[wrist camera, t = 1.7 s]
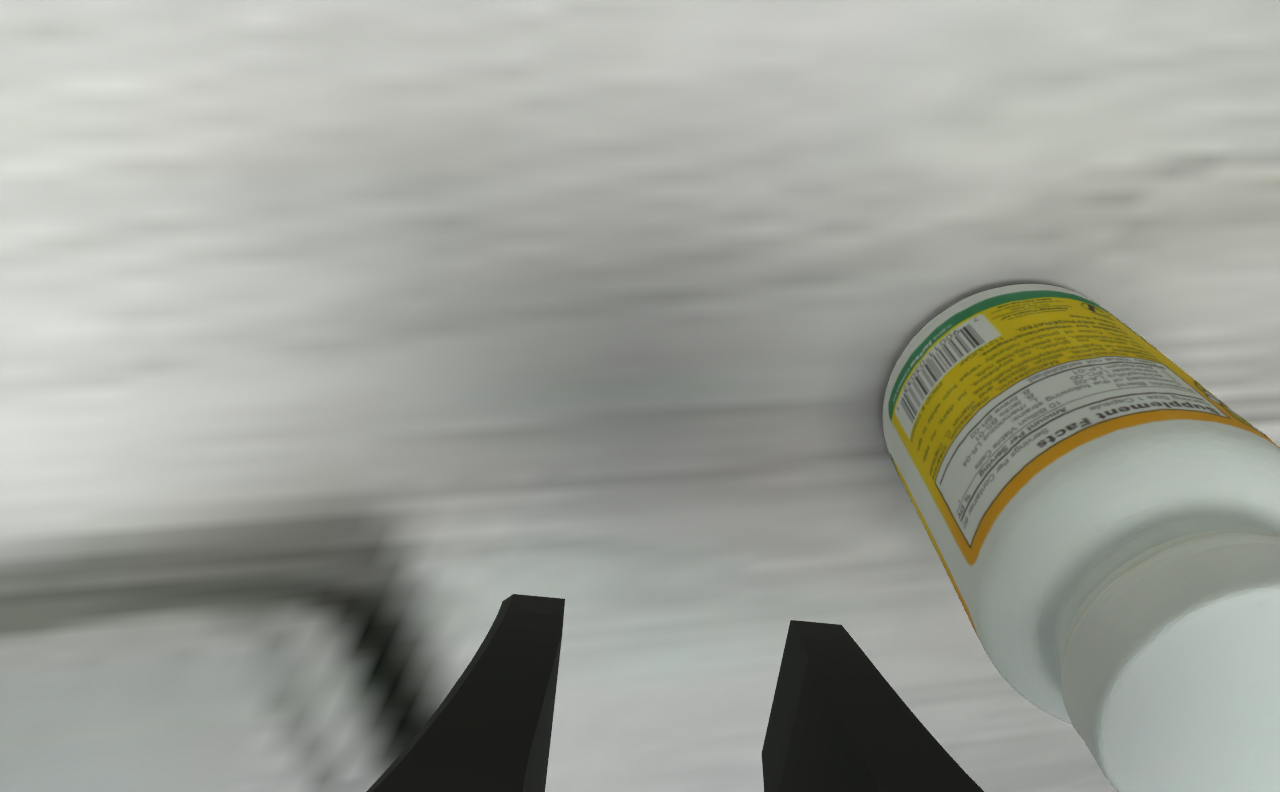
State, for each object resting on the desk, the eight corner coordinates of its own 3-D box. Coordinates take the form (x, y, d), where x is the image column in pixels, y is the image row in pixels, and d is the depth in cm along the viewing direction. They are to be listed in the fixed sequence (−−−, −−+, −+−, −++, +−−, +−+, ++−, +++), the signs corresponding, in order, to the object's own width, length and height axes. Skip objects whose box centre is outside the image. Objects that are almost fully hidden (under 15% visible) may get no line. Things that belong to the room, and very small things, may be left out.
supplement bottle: (874, 292, 21) (1054, 554, 12) (1145, 263, 21) (1526, 507, 12) (879, 523, 23) (1034, 886, 14) (1124, 498, 23) (1433, 852, 14)
